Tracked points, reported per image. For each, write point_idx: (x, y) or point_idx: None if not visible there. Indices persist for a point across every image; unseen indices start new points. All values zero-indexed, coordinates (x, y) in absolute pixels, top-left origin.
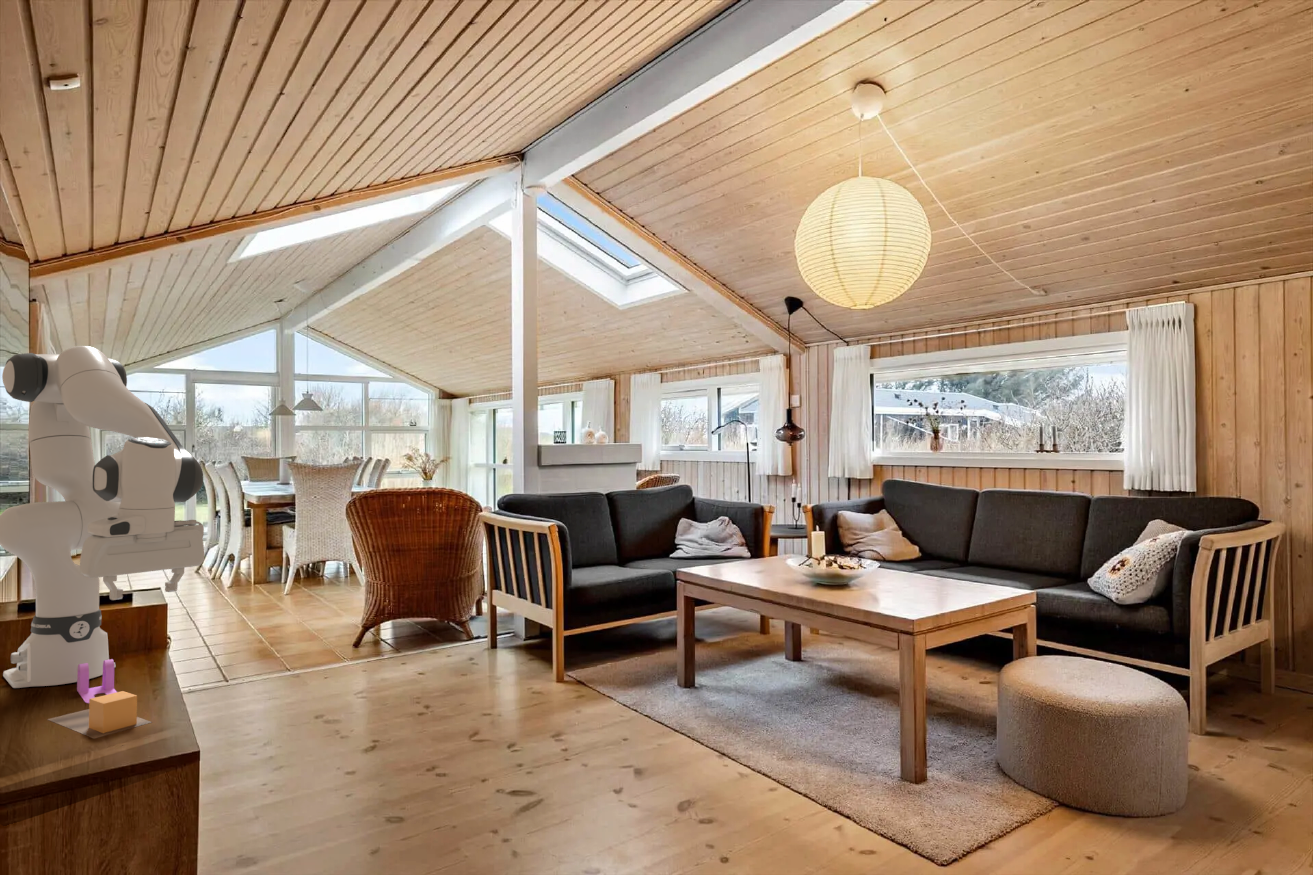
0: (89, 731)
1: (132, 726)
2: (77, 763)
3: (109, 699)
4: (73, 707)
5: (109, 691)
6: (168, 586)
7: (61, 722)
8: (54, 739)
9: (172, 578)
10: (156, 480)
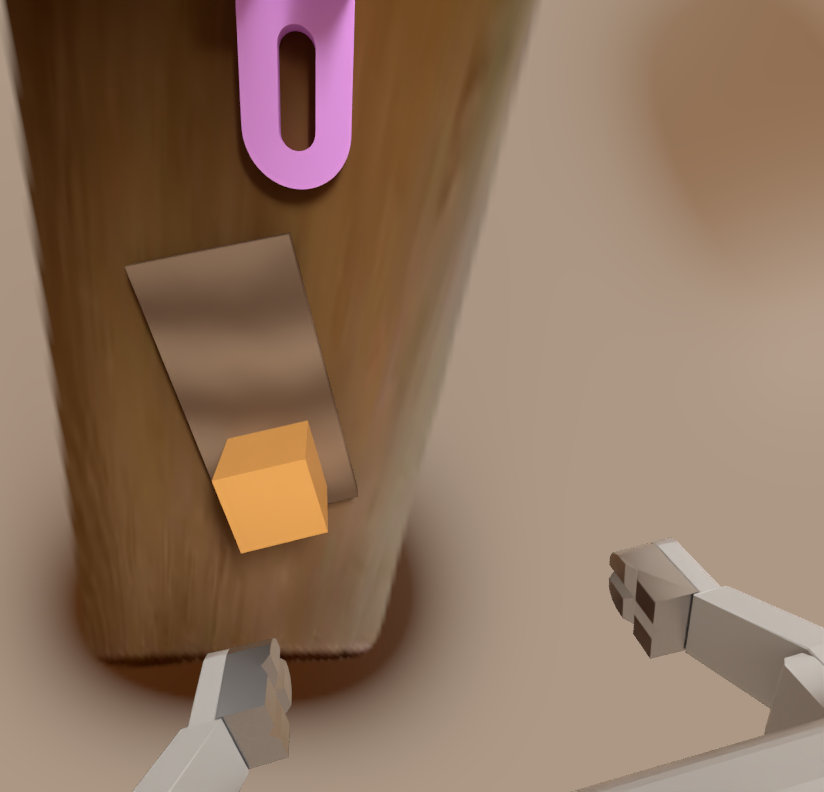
0: None
1: None
2: (197, 596)
3: (259, 523)
4: (212, 76)
5: (332, 32)
6: (634, 623)
7: (164, 337)
8: (154, 409)
9: (727, 629)
10: None
